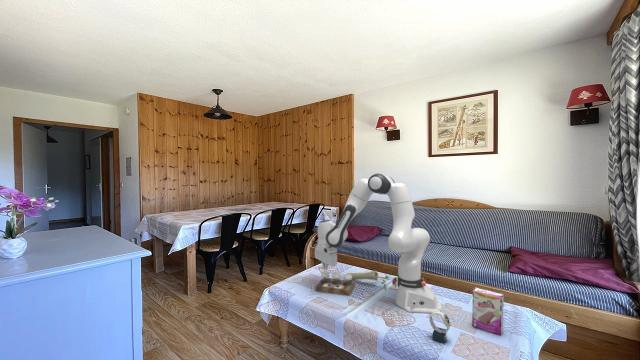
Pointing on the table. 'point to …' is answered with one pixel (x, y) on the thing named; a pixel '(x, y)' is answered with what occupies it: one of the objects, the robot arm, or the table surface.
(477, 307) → the candy bar box
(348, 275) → the inner button
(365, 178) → the robot arm
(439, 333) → the watch
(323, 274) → the outer button
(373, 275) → the flower vase
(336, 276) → the middle button
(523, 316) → the table surface
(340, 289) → the button board
